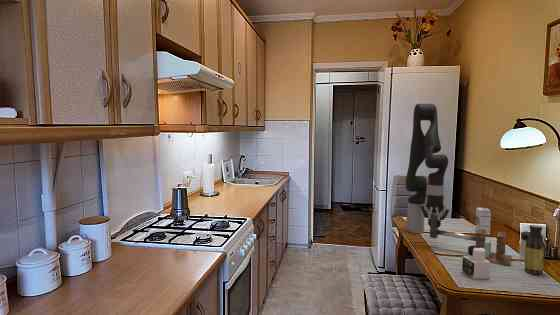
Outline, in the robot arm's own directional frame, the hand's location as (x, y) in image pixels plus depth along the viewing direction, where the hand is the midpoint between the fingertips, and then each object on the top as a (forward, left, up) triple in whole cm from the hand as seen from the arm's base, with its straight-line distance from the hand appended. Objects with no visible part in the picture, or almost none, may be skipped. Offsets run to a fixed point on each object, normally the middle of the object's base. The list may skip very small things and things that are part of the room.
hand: (434, 226), depth 164 cm
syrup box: (+17, +41, -11) cm, 46 cm away
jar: (+39, +9, -11) cm, 42 cm away
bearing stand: (+24, 0, -11) cm, 27 cm away
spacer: (+23, 0, -10) cm, 25 cm away
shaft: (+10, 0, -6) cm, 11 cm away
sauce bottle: (+40, -7, -11) cm, 43 cm away
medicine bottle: (+21, -25, -11) cm, 35 cm away
